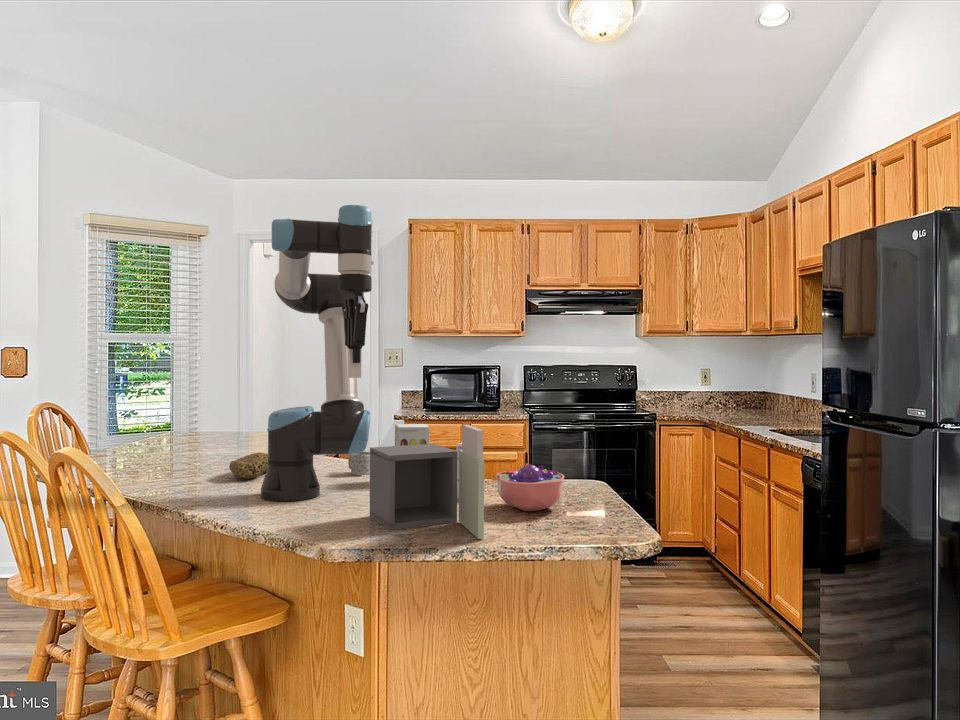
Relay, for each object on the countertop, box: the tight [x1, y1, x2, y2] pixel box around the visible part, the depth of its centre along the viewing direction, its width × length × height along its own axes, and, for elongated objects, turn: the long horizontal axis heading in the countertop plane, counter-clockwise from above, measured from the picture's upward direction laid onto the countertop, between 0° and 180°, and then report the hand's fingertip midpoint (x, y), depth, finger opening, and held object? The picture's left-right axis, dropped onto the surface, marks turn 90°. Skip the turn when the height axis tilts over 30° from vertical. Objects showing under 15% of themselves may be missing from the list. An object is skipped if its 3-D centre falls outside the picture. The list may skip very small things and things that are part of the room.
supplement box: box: [394, 423, 431, 446], centre depth 206 cm, size 10×9×17 cm
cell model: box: [495, 464, 565, 512], centre depth 172 cm, size 17×20×11 cm
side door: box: [458, 424, 485, 540], centre depth 150 cm, size 1×16×22 cm, turn 16°
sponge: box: [228, 452, 268, 480], centre depth 215 cm, size 13×8×20 cm
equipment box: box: [369, 443, 458, 531], centre depth 160 cm, size 14×16×16 cm
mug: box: [348, 451, 370, 477], centre depth 220 cm, size 10×7×7 cm
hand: (354, 377), depth 160 cm, fingers closed
